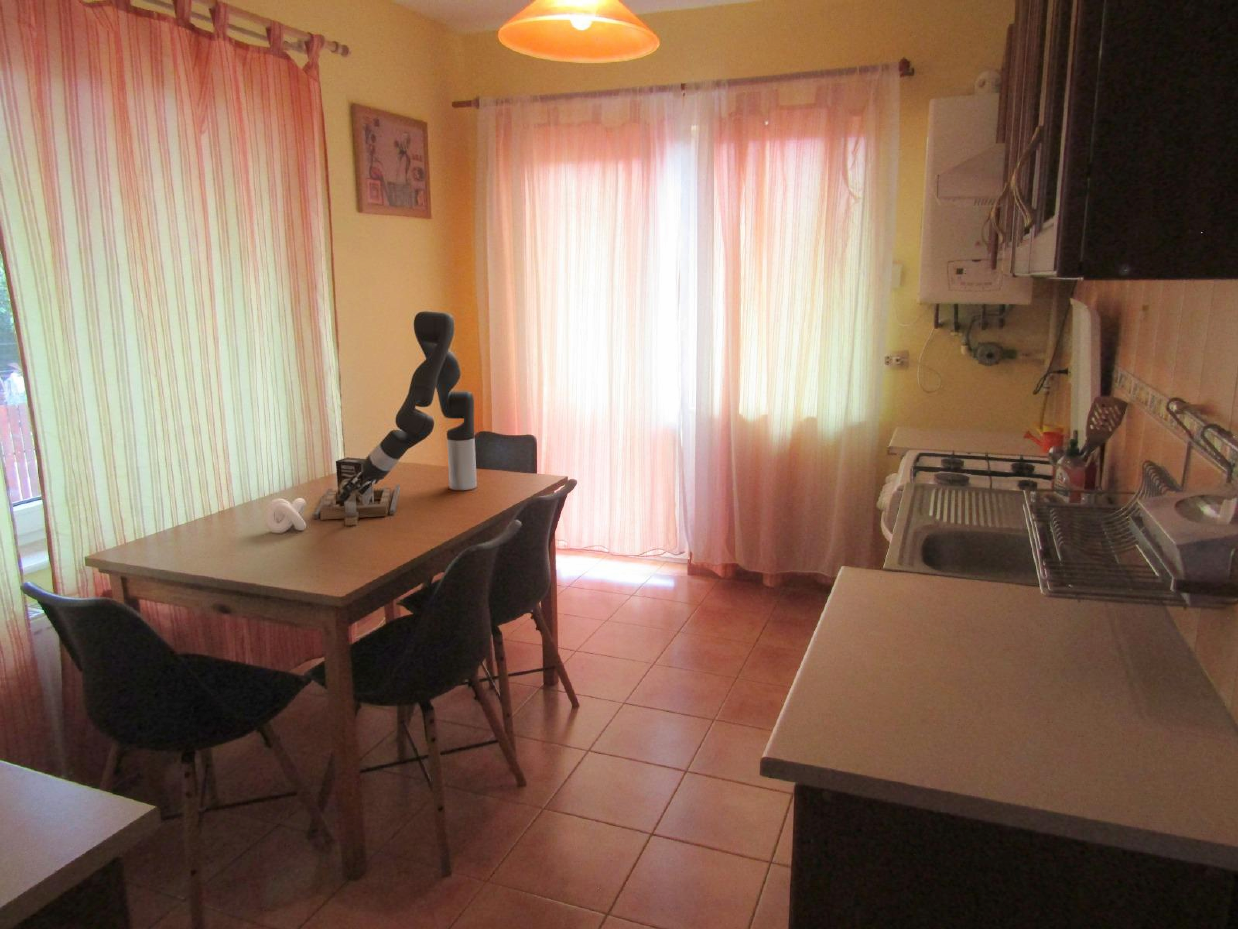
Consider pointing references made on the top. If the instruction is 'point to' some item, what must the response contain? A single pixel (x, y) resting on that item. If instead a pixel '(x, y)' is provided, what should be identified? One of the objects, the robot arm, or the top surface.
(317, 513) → the guide rails
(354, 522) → the frame
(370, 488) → the coffee box
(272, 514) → the white knot sculpture
